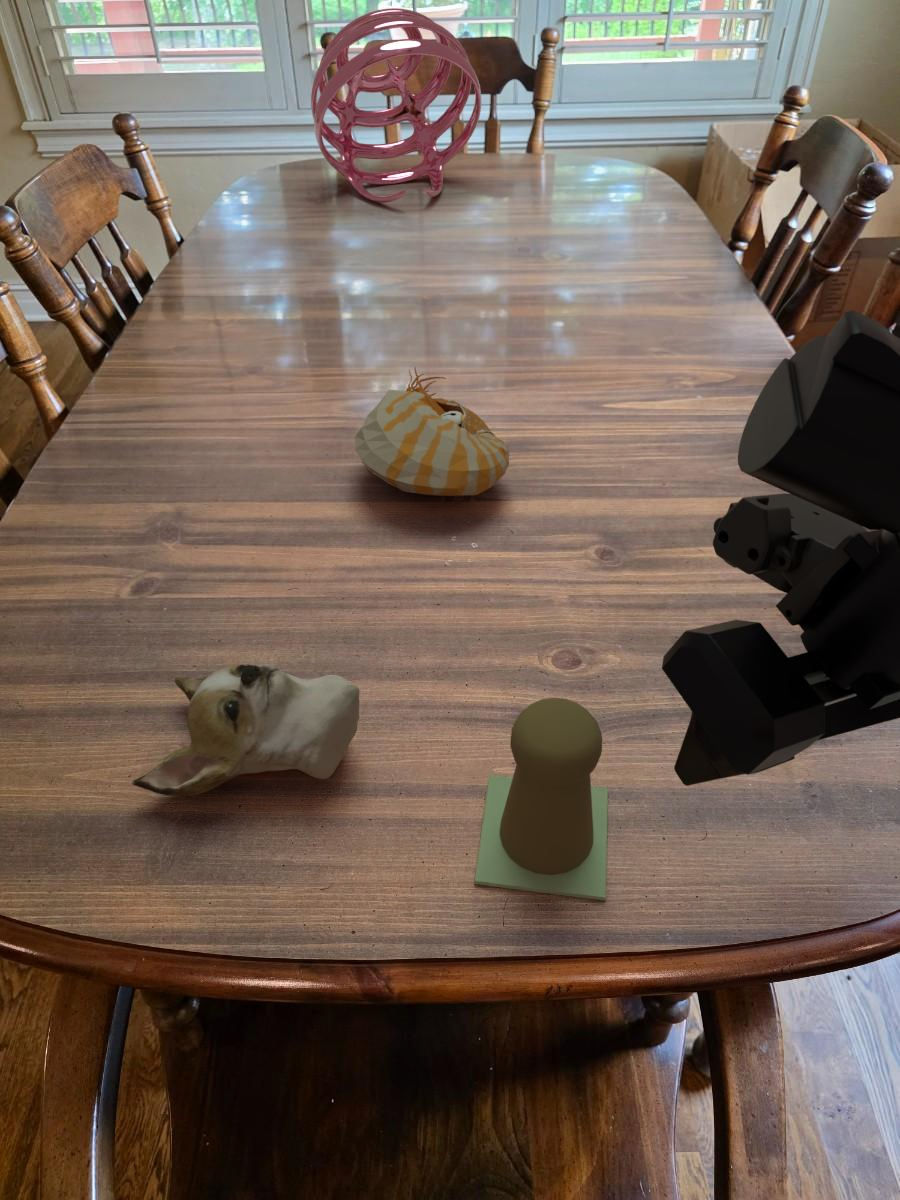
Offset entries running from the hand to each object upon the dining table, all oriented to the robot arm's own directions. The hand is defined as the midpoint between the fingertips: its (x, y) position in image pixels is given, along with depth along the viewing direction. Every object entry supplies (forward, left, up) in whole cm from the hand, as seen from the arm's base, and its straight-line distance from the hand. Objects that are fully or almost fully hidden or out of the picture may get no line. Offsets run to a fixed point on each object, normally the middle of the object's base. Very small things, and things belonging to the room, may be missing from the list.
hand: (740, 756), depth 47 cm
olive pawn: (+10, -1, -11) cm, 15 cm away
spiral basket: (+44, -128, -11) cm, 136 cm away
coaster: (+10, -1, -11) cm, 15 cm away
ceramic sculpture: (+30, -5, -11) cm, 32 cm away
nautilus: (+24, -43, -11) cm, 50 cm away
